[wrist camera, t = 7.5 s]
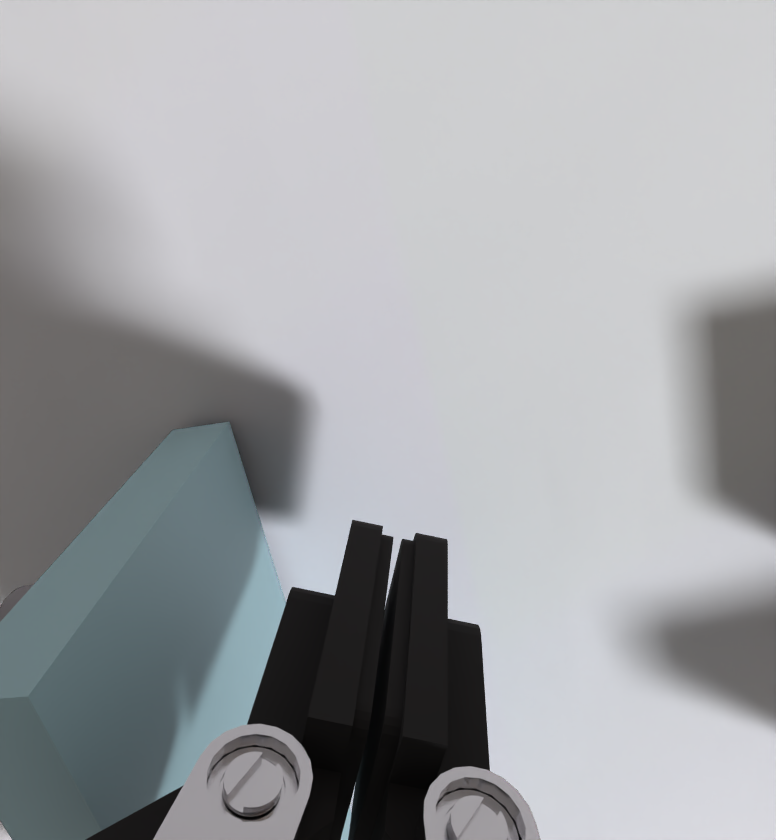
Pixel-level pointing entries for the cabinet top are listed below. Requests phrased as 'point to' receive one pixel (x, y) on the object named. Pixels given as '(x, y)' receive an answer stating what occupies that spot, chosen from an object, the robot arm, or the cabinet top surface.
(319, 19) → the cabinet top surface
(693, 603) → the cabinet top surface
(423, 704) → the robot arm
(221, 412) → the cabinet top surface
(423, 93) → the cabinet top surface
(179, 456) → the door
